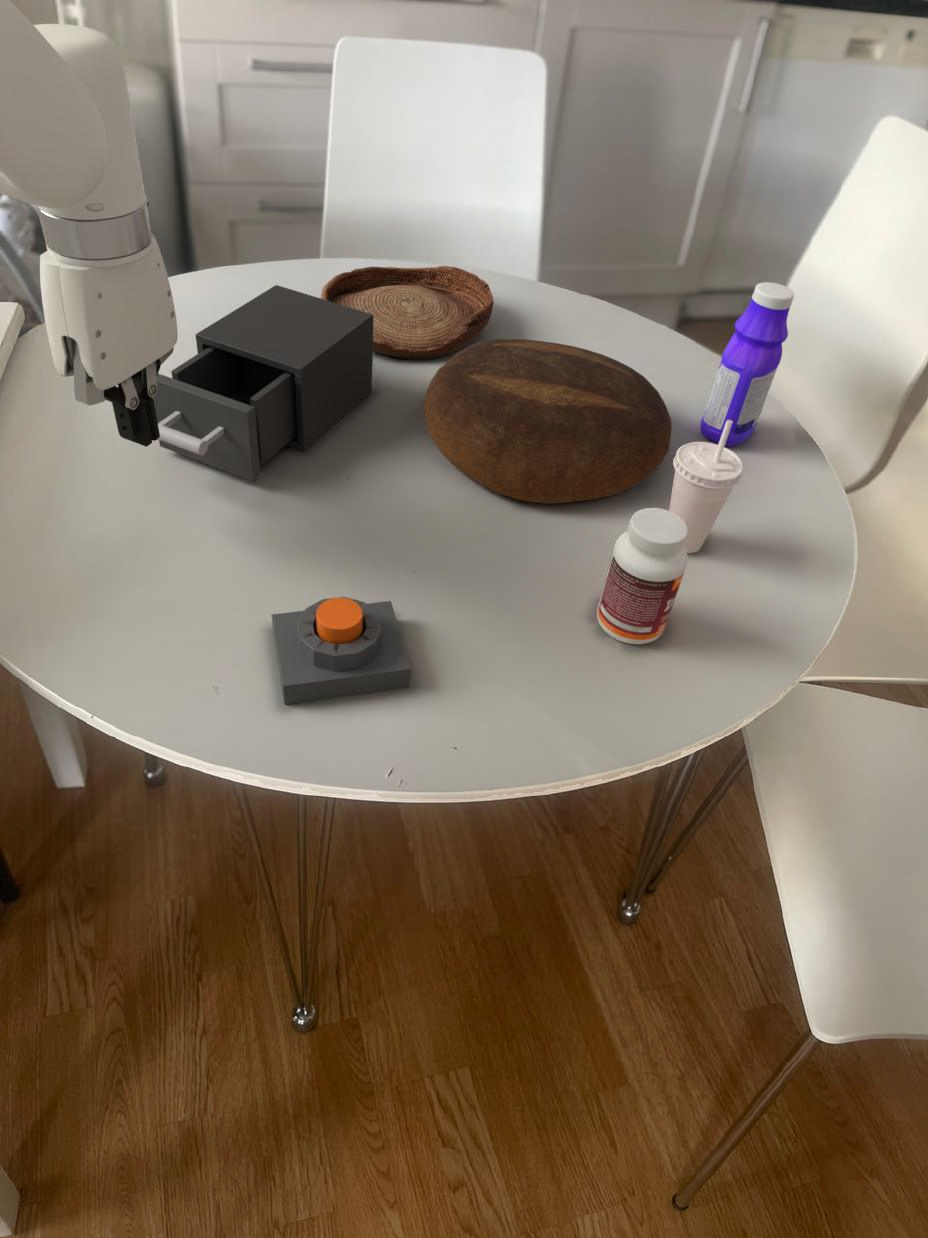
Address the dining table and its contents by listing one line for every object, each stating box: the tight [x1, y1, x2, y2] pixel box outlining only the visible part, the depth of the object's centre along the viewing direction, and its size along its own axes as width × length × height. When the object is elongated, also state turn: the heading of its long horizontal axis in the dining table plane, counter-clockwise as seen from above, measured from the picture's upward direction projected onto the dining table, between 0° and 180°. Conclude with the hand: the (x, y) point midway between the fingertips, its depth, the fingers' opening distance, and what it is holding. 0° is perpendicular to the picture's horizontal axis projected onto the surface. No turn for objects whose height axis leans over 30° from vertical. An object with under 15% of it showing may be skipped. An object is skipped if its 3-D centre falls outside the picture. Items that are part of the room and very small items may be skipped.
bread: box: [423, 338, 673, 504], centre depth 97 cm, size 28×27×9 cm
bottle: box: [700, 281, 795, 447], centre depth 98 cm, size 7×6×17 cm
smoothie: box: [668, 420, 745, 554], centre depth 84 cm, size 6×6×14 cm
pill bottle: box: [596, 507, 688, 645], centre depth 75 cm, size 6×6×11 cm
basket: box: [320, 265, 495, 360], centre depth 115 cm, size 22×20×5 cm
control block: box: [271, 596, 412, 705], centre depth 71 cm, size 10×8×4 cm
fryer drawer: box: [152, 346, 298, 482], centre depth 89 cm, size 18×11×8 cm, turn 155°
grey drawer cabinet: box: [195, 284, 374, 452], centre depth 97 cm, size 15×13×10 cm
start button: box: [316, 597, 363, 645], centre depth 70 cm, size 4×4×2 cm
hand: (140, 437), depth 78 cm, fingers closed
